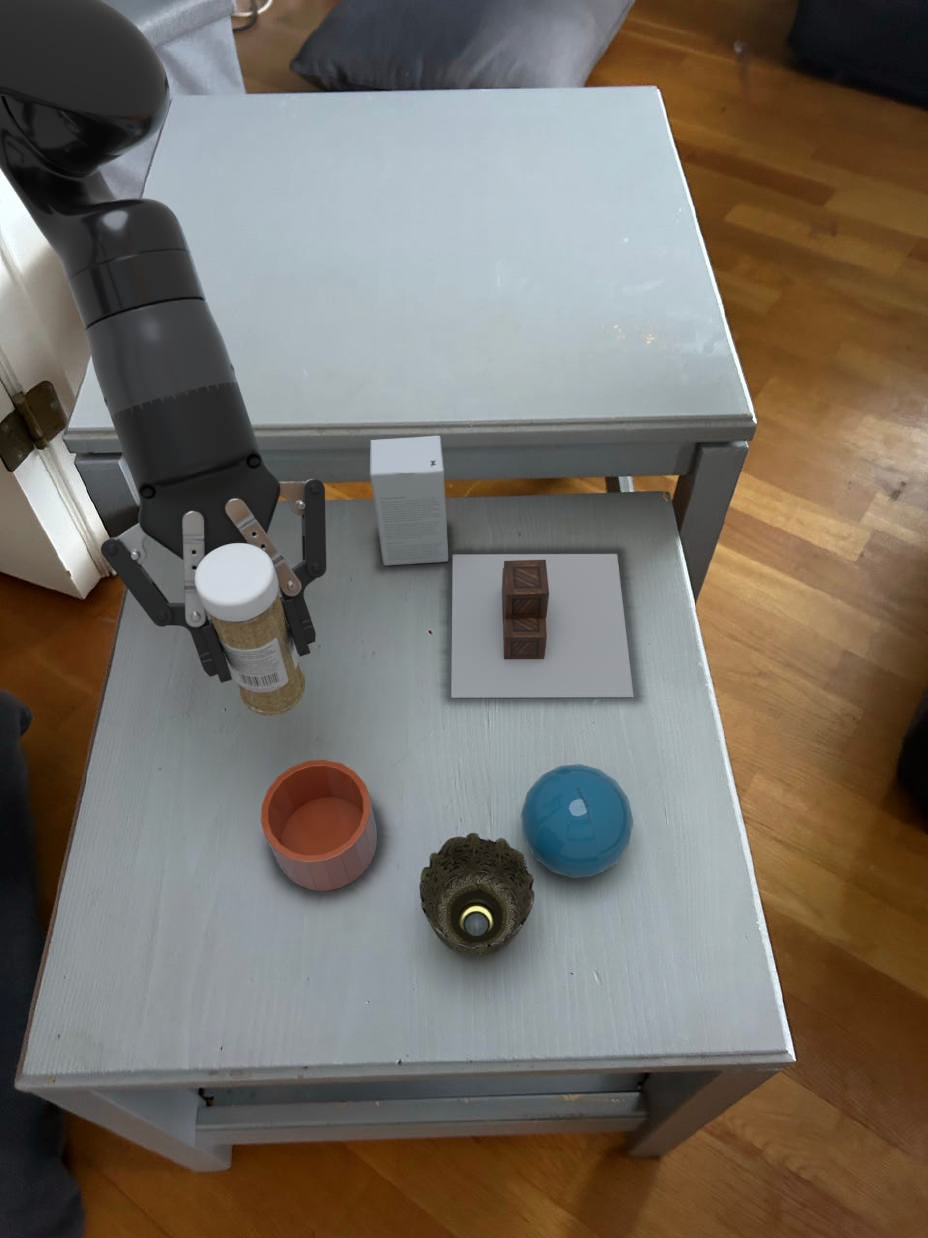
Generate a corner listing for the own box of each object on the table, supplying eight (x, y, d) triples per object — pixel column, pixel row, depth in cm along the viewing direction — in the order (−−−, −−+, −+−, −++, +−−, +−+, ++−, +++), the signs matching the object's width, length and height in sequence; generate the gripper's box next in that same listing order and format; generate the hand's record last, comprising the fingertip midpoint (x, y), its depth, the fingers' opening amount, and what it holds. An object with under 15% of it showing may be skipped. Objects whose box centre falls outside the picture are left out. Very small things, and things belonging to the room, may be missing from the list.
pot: (292, 907, 68) (278, 878, 63) (264, 815, 72) (248, 782, 67) (391, 868, 70) (385, 837, 65) (358, 780, 74) (350, 745, 69)
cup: (412, 963, 66) (405, 929, 59) (438, 863, 70) (435, 821, 63) (516, 990, 65) (521, 958, 58) (537, 887, 69) (544, 846, 62)
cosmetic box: (446, 527, 88) (442, 433, 78) (448, 563, 86) (445, 471, 76) (381, 530, 88) (369, 437, 78) (381, 567, 86) (369, 475, 76)
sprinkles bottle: (315, 669, 66) (285, 548, 55) (292, 725, 63) (255, 611, 52) (254, 655, 66) (212, 532, 55) (228, 710, 64) (179, 593, 53)
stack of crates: (633, 697, 78) (646, 652, 72) (451, 697, 78) (449, 653, 72) (617, 554, 86) (627, 504, 81) (452, 554, 86) (451, 504, 81)
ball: (601, 779, 74) (613, 731, 67) (642, 875, 69) (660, 833, 63) (503, 808, 72) (506, 762, 66) (539, 908, 68) (546, 869, 61)
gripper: (38, 424, 50) (149, 719, 54) (297, 355, 53) (385, 639, 57) (58, 431, 57) (154, 691, 61) (285, 370, 60) (364, 621, 64)
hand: (265, 664), depth 59 cm, fingers closed on sprinkles bottle, 4 cm apart
